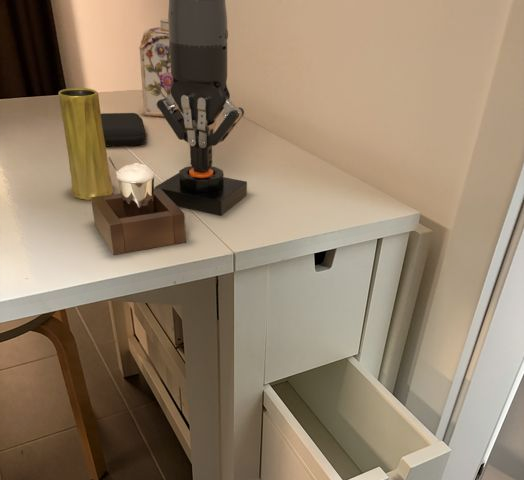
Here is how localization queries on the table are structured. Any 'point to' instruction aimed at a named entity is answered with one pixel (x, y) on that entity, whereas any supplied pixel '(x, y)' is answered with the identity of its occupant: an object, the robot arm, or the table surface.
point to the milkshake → (136, 189)
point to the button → (201, 175)
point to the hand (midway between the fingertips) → (201, 171)
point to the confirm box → (204, 191)
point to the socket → (138, 223)
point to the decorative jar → (155, 67)
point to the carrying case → (123, 129)
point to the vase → (85, 143)
